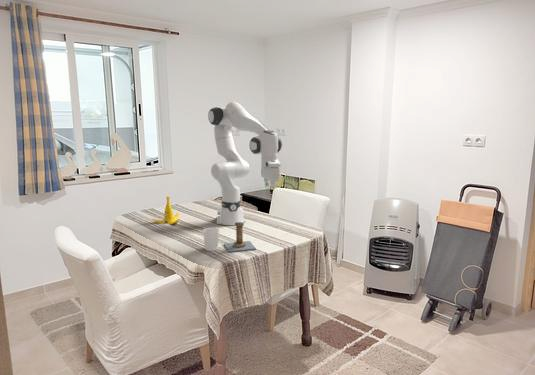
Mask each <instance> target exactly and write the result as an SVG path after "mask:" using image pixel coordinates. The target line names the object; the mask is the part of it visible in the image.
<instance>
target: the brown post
mask: <svg viewBox="0 0 535 375" xmlns="http://www.w3.org/2000/svg"><path fill="white" fill-rule="evenodd" d="M244 223H245V222H236V223H235V225H234V226H235V230H236V231H235V232H236V233H235V237H236V240H235V241H234V242H233V243H234V247H236V248H242V247H245V242H244V240H243V237H244V236H243V232H244V229H243V228H244V227H243V226H245V225H244Z"/></svg>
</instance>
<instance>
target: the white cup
mask: <svg viewBox="0 0 535 375" xmlns="http://www.w3.org/2000/svg"><path fill="white" fill-rule="evenodd" d="M202 231H203V233H202V234H203V243H204V250H205V251H207V252H213V251H217V250H219V241H220V240H219V238H220V235H219V234H220V230H219V228H218V227H207V228H204V229H203V230H202Z"/></svg>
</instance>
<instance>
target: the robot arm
mask: <svg viewBox="0 0 535 375" xmlns="http://www.w3.org/2000/svg"><path fill="white" fill-rule="evenodd" d="M207 117H208V121H209V123H210V124H211V125H213V126H214V128H213V129H214V131H213V133H214V141H215V145H216V150H217V153H218V155H220V156H221V157H223V158H224V159H225V160H226V161H219V162H216V163H213V165H212V166H211V170H210V173H211V177H213V179H214V180H216V181H217V182H218V184H219V186H220V188H221V197H222V200H221V207H220V209H219V210H218V211H217V216H216V225H223V226H235V223H236V222H243V223H246V222H247V220H246V219H245V218H244V217H245V216H244V208H242V200H241V189H240V187H239V186H238V185H236V184H235V183H234V181H233V179H240V178H244V177H246V176H248V175H249V173H250V165H249V163H248V161H246V160H244V159H243V157H241V156H240V154H239V153H238V151H237V148H236V145H235V141H234V136H233V132H232V128H233V127H234V128H235V129H236V130H238V131H240V132H241V131H242V132H249V133H253V134H256V135H257V136H254V137H252V138H251V139H250V141H249V149H250V152H251V153H252V154H254V155H261V156H260V159H261V160H260V162H261V163H260V167H261V168H260V175H261V177H262V178H263V181H264V186H265V187H269V189H270V190H271V191H273V190H275V186H276V183H278V182H279V181H280V171H281V170H280V168H281V164H282V163H281V162H280V160H279V152H280V151H281V149H282V147H283V142H282V140H281V138H280V137H279V136H278V133H277V132H276V131H273V130H270V129H269V128H268V127H266V126H265V125H264V124H263V123H262V122H261V121H259V120H258V119H257V118H255V117H254V116H252V115H251V114H250V113H249V112H248V111H247V110H246V109H245V108H244V106H243V105H241V104H240V103H238V102H237V101H230V102H229V103H227V105H225V106H220V107H218V106H216V107H212V108H210V109H209V111H208V114H207ZM269 182H270V183H269Z"/></svg>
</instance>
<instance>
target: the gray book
mask: <svg viewBox="0 0 535 375" xmlns="http://www.w3.org/2000/svg"><path fill="white" fill-rule="evenodd" d="M243 242H245V247H242V248H236V247H234V242H226V243H223V246H224V248H225V249H226V251H227V252H228V253H238V252H246V251H248V252H249V251H256V250H257V248H256V247H255V245H254V244H253V243H252V242H251V241H250V240H245V241H244V240H243Z"/></svg>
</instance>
